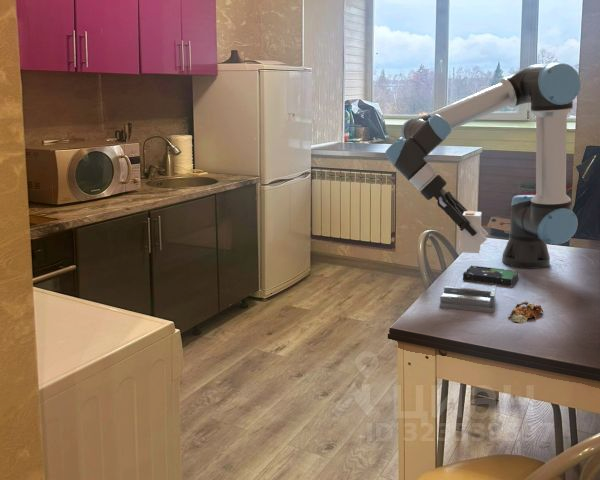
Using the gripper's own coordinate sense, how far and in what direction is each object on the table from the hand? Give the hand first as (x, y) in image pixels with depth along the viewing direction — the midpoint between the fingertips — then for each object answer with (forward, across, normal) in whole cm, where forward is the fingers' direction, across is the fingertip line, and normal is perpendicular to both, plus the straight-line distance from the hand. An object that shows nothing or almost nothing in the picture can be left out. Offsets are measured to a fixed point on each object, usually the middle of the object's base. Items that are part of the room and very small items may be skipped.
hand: (484, 239), depth 190 cm
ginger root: (+20, +21, -2) cm, 29 cm away
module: (0, 0, -5) cm, 5 cm away
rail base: (+8, +15, -12) cm, 21 cm away
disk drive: (+12, -10, -10) cm, 19 cm away
